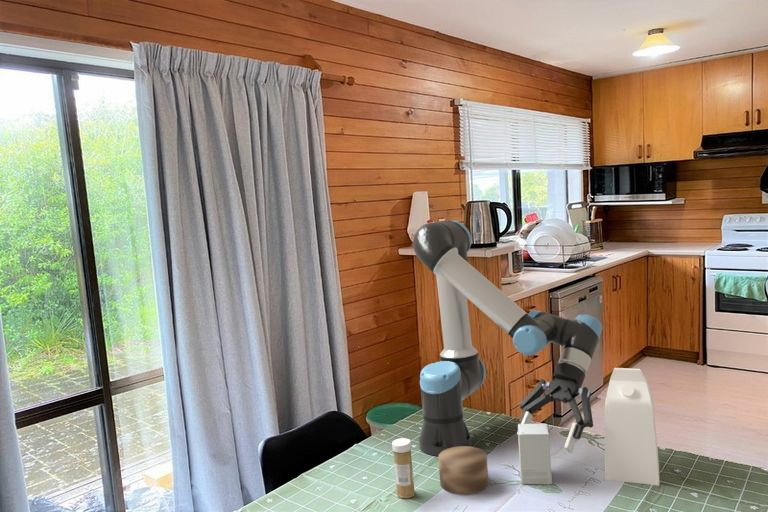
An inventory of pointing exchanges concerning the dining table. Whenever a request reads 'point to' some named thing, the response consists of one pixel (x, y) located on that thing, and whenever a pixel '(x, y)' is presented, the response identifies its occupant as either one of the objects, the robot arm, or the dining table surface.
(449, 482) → the brown cylinder
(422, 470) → the dining table surface
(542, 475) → the supplement box
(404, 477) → the sprinkles bottle
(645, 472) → the milk
